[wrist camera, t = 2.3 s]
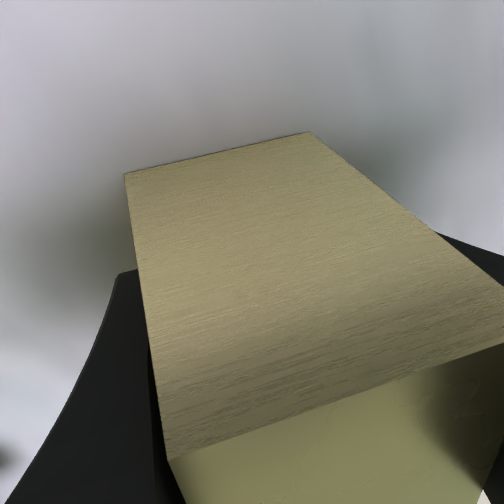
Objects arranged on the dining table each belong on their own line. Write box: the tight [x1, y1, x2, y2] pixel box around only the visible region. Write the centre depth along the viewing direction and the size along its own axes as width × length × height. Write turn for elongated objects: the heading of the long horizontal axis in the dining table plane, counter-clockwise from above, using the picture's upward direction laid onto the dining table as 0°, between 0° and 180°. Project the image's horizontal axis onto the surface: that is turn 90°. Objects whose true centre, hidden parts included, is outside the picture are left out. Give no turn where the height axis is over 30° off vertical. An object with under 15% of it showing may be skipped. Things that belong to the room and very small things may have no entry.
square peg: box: [124, 132, 504, 504], centre depth 9 cm, size 4×4×7 cm
